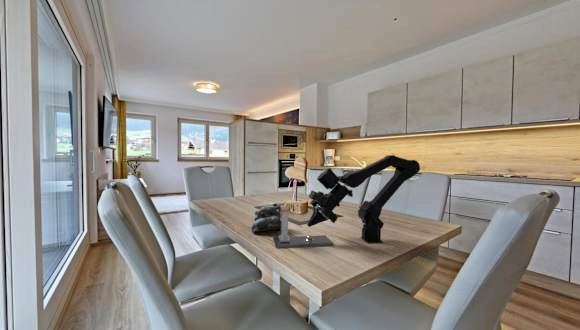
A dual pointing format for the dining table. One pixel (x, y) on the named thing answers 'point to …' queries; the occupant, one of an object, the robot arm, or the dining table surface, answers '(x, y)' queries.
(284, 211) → the post
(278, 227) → the dark grey lumpy block
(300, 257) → the dining table surface
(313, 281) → the dining table surface
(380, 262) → the dining table surface
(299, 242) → the bolt plate
